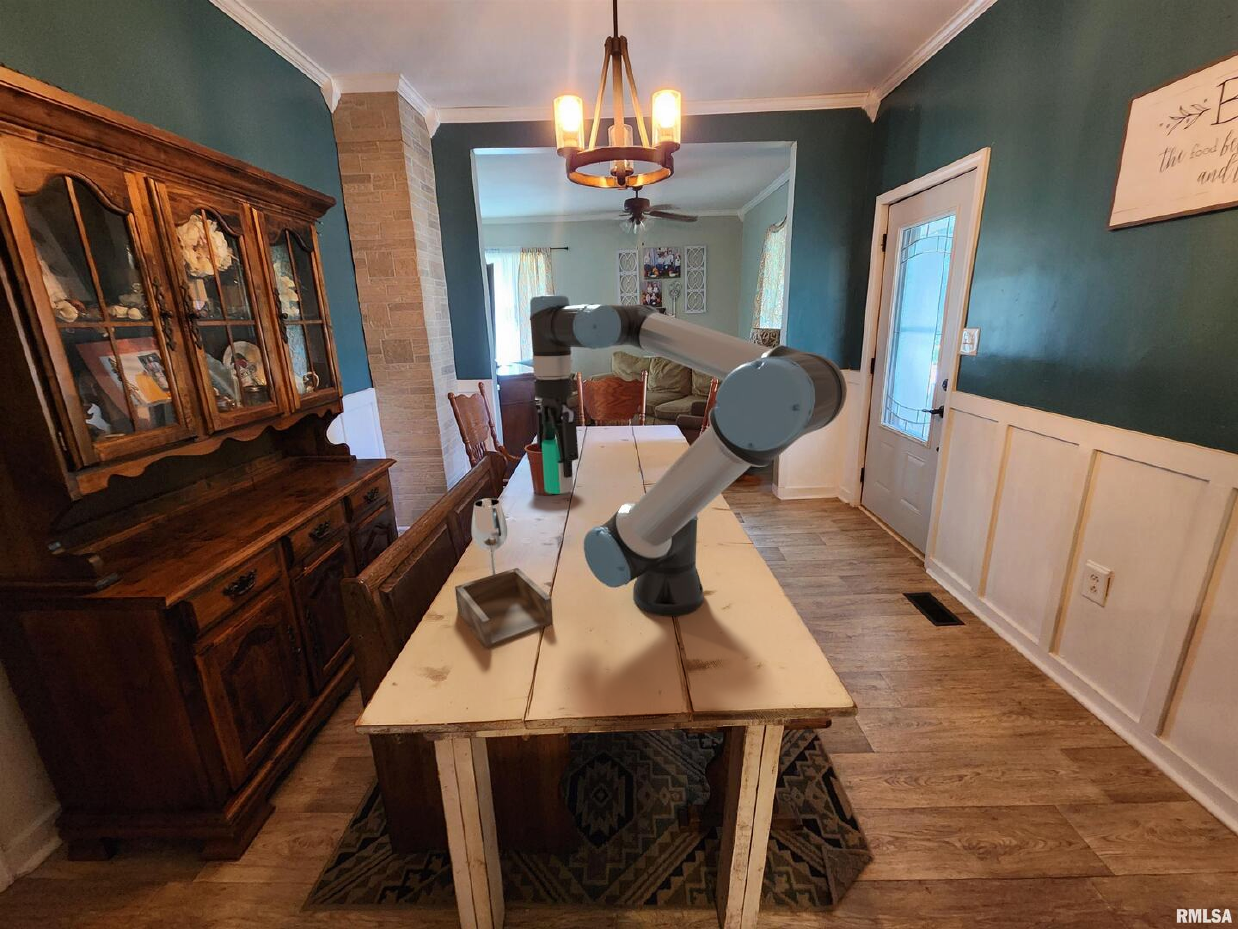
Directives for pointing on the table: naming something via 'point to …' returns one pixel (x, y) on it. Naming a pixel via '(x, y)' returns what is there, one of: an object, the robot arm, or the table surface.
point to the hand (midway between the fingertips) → (558, 487)
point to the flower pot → (536, 468)
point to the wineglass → (489, 526)
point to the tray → (503, 607)
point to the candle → (551, 466)
